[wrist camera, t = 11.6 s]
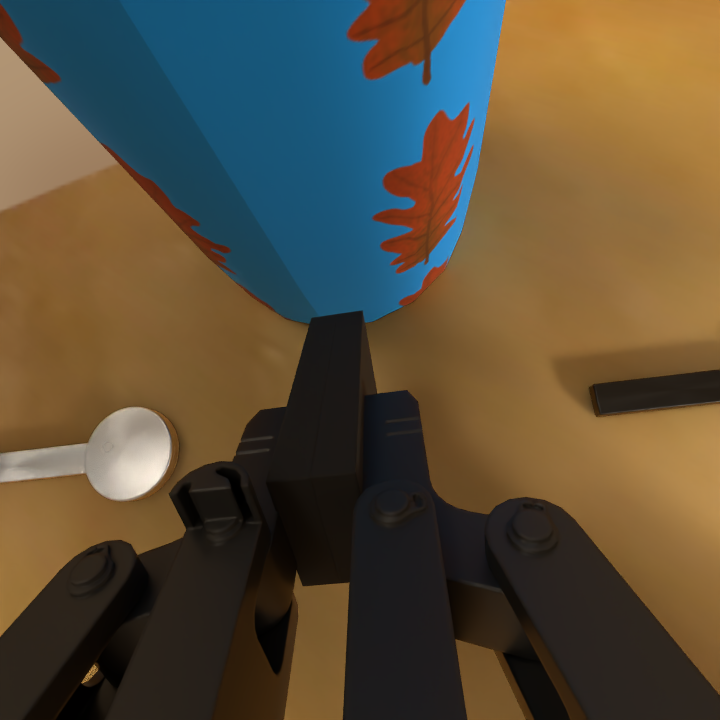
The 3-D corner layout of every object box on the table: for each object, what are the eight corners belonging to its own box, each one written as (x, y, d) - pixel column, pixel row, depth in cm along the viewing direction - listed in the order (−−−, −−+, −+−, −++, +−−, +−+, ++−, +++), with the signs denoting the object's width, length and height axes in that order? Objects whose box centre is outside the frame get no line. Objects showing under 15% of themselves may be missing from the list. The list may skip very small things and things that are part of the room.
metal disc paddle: (-57, 520, 18) (-72, 521, 18) (-44, 431, 19) (-58, 429, 19) (179, 496, 17) (170, 496, 17) (180, 403, 18) (172, 400, 18)
